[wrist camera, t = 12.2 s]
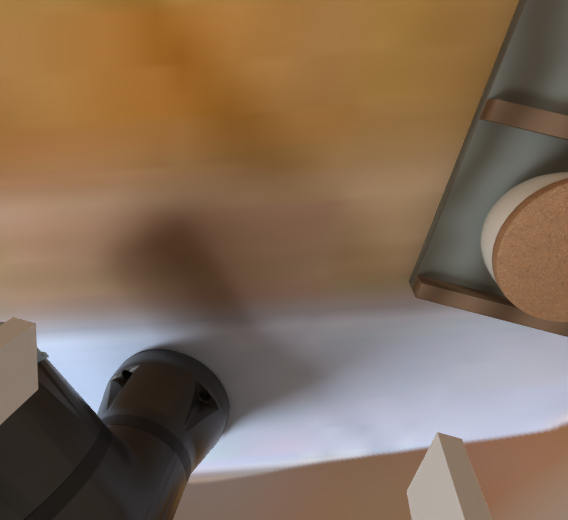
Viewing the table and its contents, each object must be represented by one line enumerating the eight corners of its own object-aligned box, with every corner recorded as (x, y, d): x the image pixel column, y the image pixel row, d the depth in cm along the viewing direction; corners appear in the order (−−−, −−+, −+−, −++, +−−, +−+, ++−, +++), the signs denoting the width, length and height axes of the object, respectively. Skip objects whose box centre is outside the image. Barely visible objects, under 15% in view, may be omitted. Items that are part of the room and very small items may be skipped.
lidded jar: (551, 295, 35) (621, 355, 27) (442, 257, 35) (476, 305, 27) (625, 185, 31) (737, 215, 22) (501, 143, 31) (565, 156, 22)
